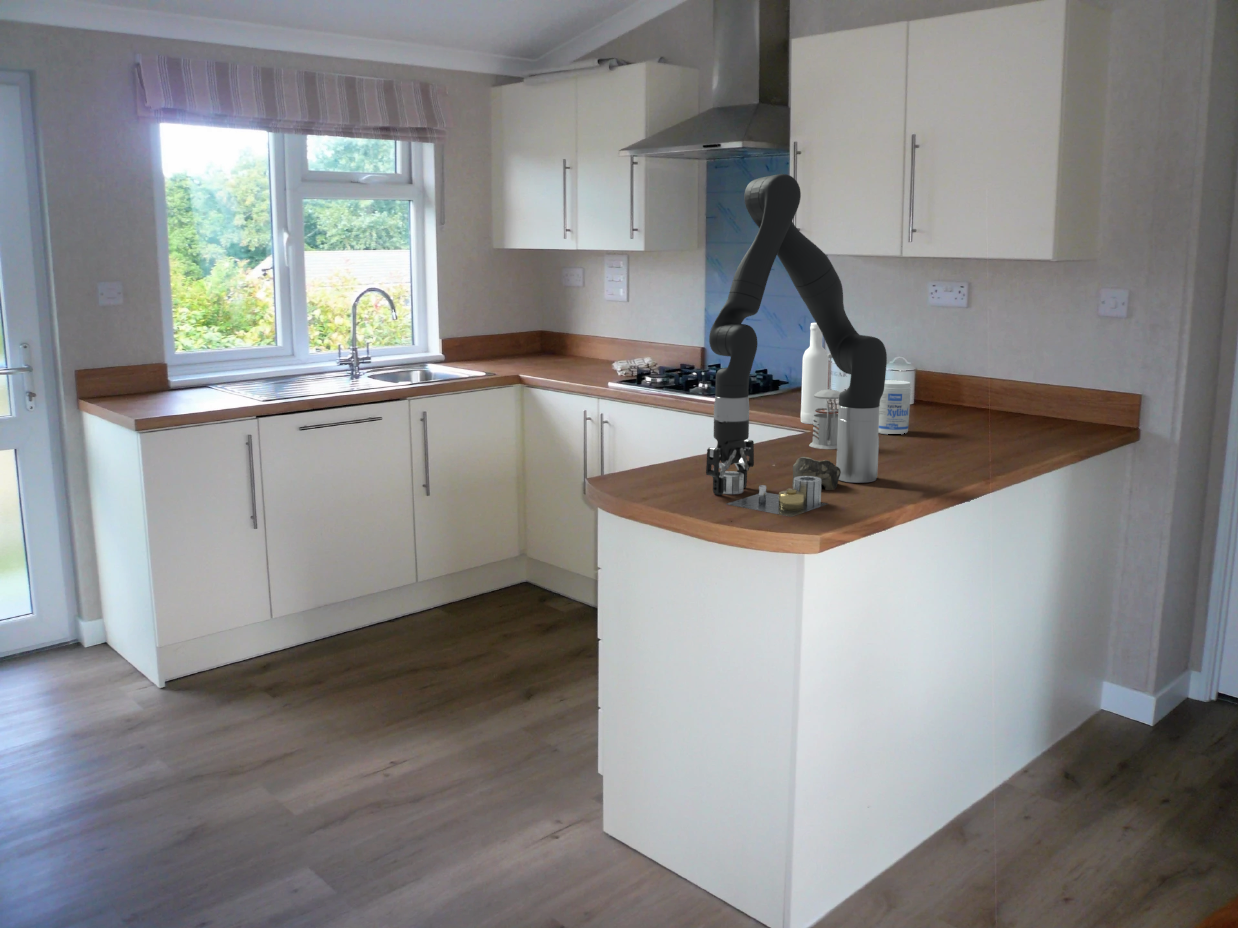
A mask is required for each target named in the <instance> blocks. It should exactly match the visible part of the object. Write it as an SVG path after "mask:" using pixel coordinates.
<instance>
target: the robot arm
mask: <svg viewBox="0 0 1238 928" xmlns="http://www.w3.org/2000/svg"><path fill="white" fill-rule="evenodd" d="M801 194H802V192H801V188H800V184H799V183H798V181H797V180H796V179H795V178H794V176H792V175H789V174H785V173H780V174H774V175H767V176H764V177H763V176H762V177H759V178H755V179H753V180H751V181H749V183H748V184H747V186H746V188H745V190H744V194H743V197H744V199H743V200H744V204H745V209H746V210H747V212H748V214H749V217H751V219H752V221H753V222H754V223H755V224H756V226H757V227H758V232H757V234H756V235H755V237H754V240H753V241H752V243H751V245H750V247H749V248H748V250H747V251H746V253H745V254H744V256H742V257H743V258H742V259H741V261H740V262H739V264H738V266H737V268H736V270H735V272H734V275H733V278H732V282H731V286H730V290H729V294H728V296H727V299H726V301H725V303H724V305H723V306H722V308H721V309H720V311H719V313H718V314H717V317H716V318H715V320H714V322H713V324H712V326H711V329H710V331H709V335H708V342H709V347H710V349H711V350H712V352H713V353H714V354H715V355H718V356H721V357H722V356H723V357H730V360H729V363H728V364H727V365H728V366H727V367H722V368H720V369H718V370H717V372H716V374H715V394H714V395H715V396H714V403H713V438H714V440H716V441H717V445H716V447H707V449H706V464H705V465H706V466H705V467H706V468H705V473H706V475H707V476H710V477H712V492H713V494H714V495H718V496H722V495H724V494H723V490H724V478H723V476H724V474H725V471H728V470H729V469H730V466H732V465H734V466H735V467H736V469H737V470H736V472H740V473H743V474H744V484H743V489H744V488H747V482H748V472H749V470H750V468H753V467H754V466H755V458H754V457H755V448H754V447H755V444H754V443H755V441H754V440H752V439H749V437H750V435H749V434H750V432H749V431H750V430H749V429H750V401H749V384H750V383H749V382H750V379H749V378H750V376H751V371H752V368H753V365H754V361H755V358H756V354H757V351H758V337H757V333H756V331H755V329H754V328H753V327H752V326H751V325H748V324H747V323H746V324H744V323H743V322H744V320H745V319H746V318H749V317H753V316H754V315H756V314H757V313H758V312H759V309H760V307H761V304H762V300H763V297H764V293H765V289H766V286H767V282H768V280H769V276H770V273H771V271H772V268H773V265H774V263H775V260H776V257H778V259H779V261H780V262H781V264H782V266H783V268H784V269H785V271H786V272H787V274H788V276H789V278H790V280H791V282H792V283H793V285H794V288H795V289H796V290H797V292H798V295H799V296H800V298H801V299H802V301H803V303H804V304H805V306H806V308H807V309H808V311H809V313H810V315H811V317H812V318H813V320H814V321H815V322H814V323H817V325H818V327H819V328H820V330H821V332H822V338H823V339H824V341H825V343H826V346H827V348H828V351H829V353H831V355H832V358H831V359H833V361H834V364H835V365H836V367H837V368H838V369H839V370H840V371H841V372H842V373H844V374H847V375H850V381H849V386H848V387H847V388H846V389H845V390H843V391H840V392H841V393H840V395H839V399H838V407H837V409H838V413H837V414H838V435H837V449H836V460H835V461H836V462H835V463H836V464H835V466H837V467H839V468H840V470H841V474H840V477H839V480H838V481H841V482H846V483H857V484H858V483H860V484H861V483H862V484H863V483H864V484H865V483H871V482H875V481H876V480H877V477H878V470H879V469H878V468H879V467H878V465H879V449H880V447H879V446H880V439H879V433H878V432H879V408H880V399H881V397H882V395H883V392H884V386H885V380H886V376H887V375H886V374H887V373H886V371H887V364H888V363H887V361H888V355H887V349H886V346H885V344H884V342H883V341H882V340H881V339H880V338H878V337H876V336H871V335H864V334H860V333H858V331H857V330H856V328H855V327H854V326H853V324H852V323H851V321H850V319H849V318H848V315H847V313H846V311H845V305H844V289H843V285H842V281H841V279H840V276H839V275H838V272H837V271H836V269H835V267H834V266H833V264H832V262H831V260H830V259H829V257H828V256H827V254H826V253H825V252H823V250H822V249H820V248H819V247H818V246H817V245H816V244H815V243H814V242H812V241H811V240H810V239H809V238H807V236H805V235H804V234H803V233H802V232H801V231H800V230H799V229H798V227H797V226H796V225H795V223H794V222H793V220H794V218H795V216H796V214H797V211H798V208H799V205H800V203H801V196H802V195H801ZM747 457H748V458H747ZM712 466H713V468H712ZM719 469H720V470H719Z"/></svg>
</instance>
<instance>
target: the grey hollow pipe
mask: <svg viewBox="0 0 1238 928" xmlns="http://www.w3.org/2000/svg"><path fill="white" fill-rule="evenodd" d="M792 489H796V490H797V491H799V492H803V493H804V505H805V506H806V505H807V506H813V505H818V504H820V503H821V502H822V501H821V500H822V484H821V478H818V477H814V476H799V477H795V478H794V488H793V487H792Z"/></svg>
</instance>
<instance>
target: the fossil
mask: <svg viewBox="0 0 1238 928" xmlns="http://www.w3.org/2000/svg"><path fill="white" fill-rule="evenodd" d="M840 474H841V470H840V468H839V467H837V466H836V464H834V463H833V462H832V461H830V460H828V459H823V460H816V459H813V458H811V457H807V456H801V457H798V458H797V459H796V461H795V463H794V464H793V465H792V484H791V487H792V489H793V488H794V478H795V477H799V476H814V477H818V478H821V486H823V487H824V490H825V491H833V490H836V488H837V486H838V484H839V481H840V480H839V477H840Z"/></svg>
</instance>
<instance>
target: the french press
mask: <svg viewBox="0 0 1238 928" xmlns="http://www.w3.org/2000/svg"><path fill="white" fill-rule="evenodd" d="M827 354H828V355H827V358H829V375H831V374H832V373H831V371H832V370H831V369H832V359H833V358H832V355H831V353H830V352H829V353H827ZM828 385H829V386H828V389H827V390H822V391H819V392H817V393H816V394H814V397H815V398H820V399H827V400H828V402H827V408H818V409H816V410H815V411H816V412H818V413H823V414H816V415H814V418H813V420H814V423H813V424H812V426H813V427H812V430H813V432H812V435H813V436H812V442H810V444H809V445H808V446H809V447H811V448H814V449H821V450H837V435H838V408H835V402H832V406H830V404H829V402H830V400H837V399H838V400H839V395H840V393H841V392H842V391H839V390H836V389H832V388H831V376H828ZM815 422H818V423H819V424H816V423H815Z"/></svg>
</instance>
